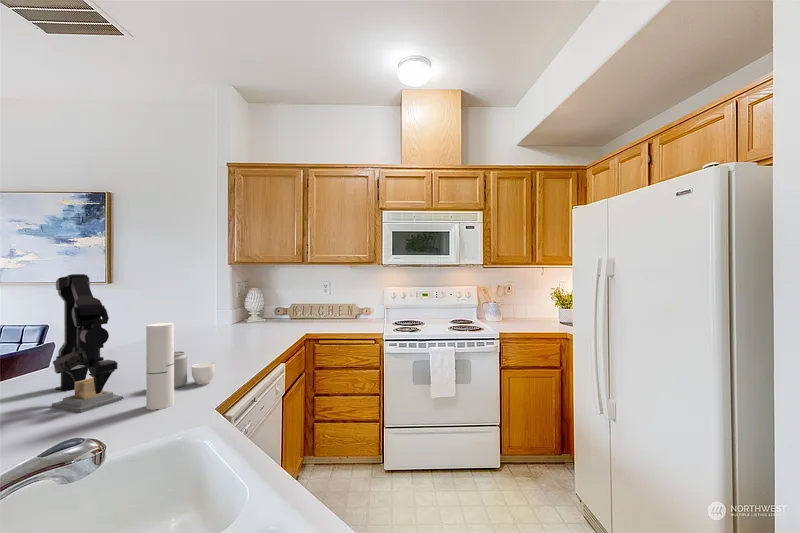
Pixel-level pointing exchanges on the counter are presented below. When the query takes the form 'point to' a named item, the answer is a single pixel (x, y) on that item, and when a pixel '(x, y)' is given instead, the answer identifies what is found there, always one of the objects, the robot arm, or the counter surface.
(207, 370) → the cup
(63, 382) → the robot arm
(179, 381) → the can
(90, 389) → the oak block
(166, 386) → the cylindrical container
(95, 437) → the counter surface
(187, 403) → the counter surface
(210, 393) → the counter surface
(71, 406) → the grey tray
